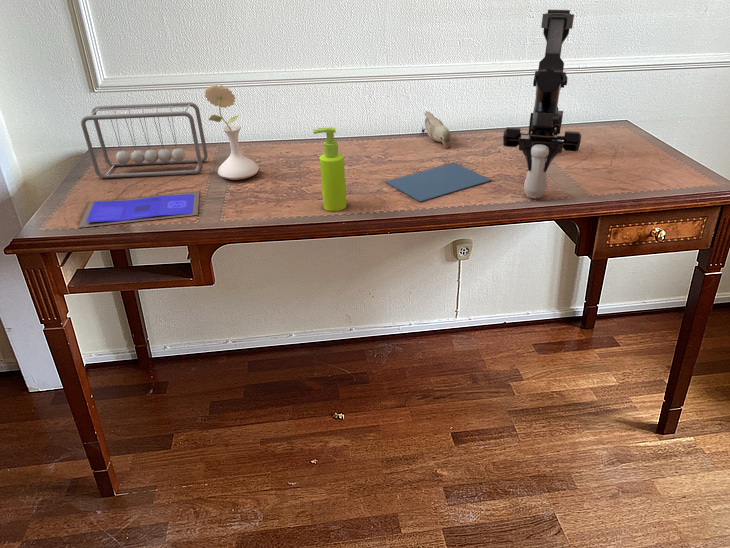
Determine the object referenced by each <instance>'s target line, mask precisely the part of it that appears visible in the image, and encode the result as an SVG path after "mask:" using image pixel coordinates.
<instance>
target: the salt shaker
mask: <svg viewBox="0 0 730 548" xmlns="http://www.w3.org/2000/svg"><path fill="white" fill-rule="evenodd" d="M548 154H549V148H548V147H547V146H545V145H534V146H533V147H532V149H531V169H530V171H528V170H527V174H526V176H525V180H524V183H523V189H524V193H525V195H526V196H527V197H528V198H532V199H540V198H542V197H543V195H544V193H545V192H547V189H548V181H547V171H546V172H544V170H545V164H546V160H547V159H546V158H547V156H548Z"/></svg>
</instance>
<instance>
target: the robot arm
mask: <svg viewBox="0 0 730 548" xmlns="http://www.w3.org/2000/svg"><path fill="white" fill-rule="evenodd" d="M574 18H575V14H574V13H571V9H547V12H546V13H542V16H541V26H540V27H541V29H543V32H542V33H543V37H544V40H545V42H546V44H545V45H546V46H545V51H544V52H545V53H544V57H542V59H541V60H540V61H539V62H538V69H537V70H535V72H534V77H533V81H532V82H533V83H532V86H533V87H535V99H534V106H533V111H532V112H530V115H529V116H530V118H529V124H528V132H521V127H506V128H504V130H503V136H502V138H503V139H502V140H503V141H502V142H503V146H504V147H506V148H517V147H518V150H519V151H520V152H522V153H523V156H524V158H525V161H526V166H527V172H528V171H530V169H531V160H532V155H531V149H532V147H533V146H534V145H545V146H547V147H548V148H549V154H548V156H547V157H546V159H545V160H546V164H545V170H544V172H546V173H547V171H548V169H549V167H550V165H551V164H552V162H553V160H554V158H556V156H557V155H558V154H562V153H563V150H564V151H565V152H578V151H579V149H580V145H581V142H582V141H581V140H582V133H581V132H580V131H569V130H565V131H564V135H560V134H561V128H562V124H563V118H564V117H563V115H564V110H559V106H558V105H559V98H560V93H561V89H563V88H565V86H567V85H568V75H567V72H566V71H564V67H565V62H564V61H563V59H562V57H561V54H562V46H563V44H564V42H565V41H566V39H567V38H568V36H569V34H570V30H572V29H573V26H574V20H575V19H574Z"/></svg>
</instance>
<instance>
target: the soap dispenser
mask: <svg viewBox="0 0 730 548" xmlns="http://www.w3.org/2000/svg"><path fill="white" fill-rule="evenodd" d="M336 129H337V128H336V127H328V126H327V127H326V126H325V127H319V128H314V129H313V130H312V133H313V135H316V134H324V133H326V140H325V141H323V154H321V155H319V158H318V159H319V169H320V182H321V194H322V207H323V209H324V210H326V211H328V212H340V211H342V210H345V209H346V208H347V190H346V171H345V157H344V155H343V154H342V153H340V152H339V143H338V141H337V140H335V134H337V130H336Z"/></svg>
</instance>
